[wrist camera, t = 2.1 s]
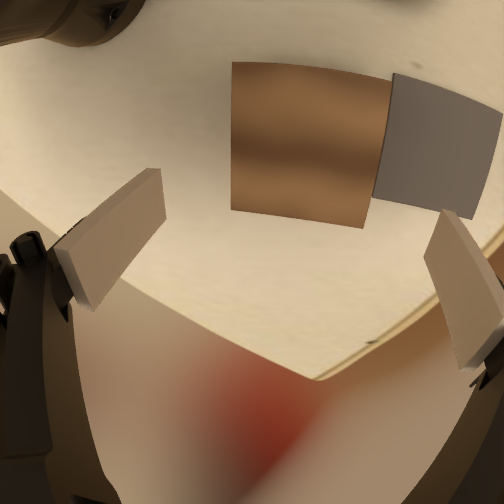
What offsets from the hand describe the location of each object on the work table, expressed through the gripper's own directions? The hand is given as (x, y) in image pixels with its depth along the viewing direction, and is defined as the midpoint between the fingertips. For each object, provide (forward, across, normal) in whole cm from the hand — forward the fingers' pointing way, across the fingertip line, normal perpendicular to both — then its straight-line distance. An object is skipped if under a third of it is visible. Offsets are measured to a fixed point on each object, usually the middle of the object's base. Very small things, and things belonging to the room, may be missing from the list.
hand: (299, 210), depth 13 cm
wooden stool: (+19, 0, 0) cm, 19 cm away
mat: (+19, +15, 0) cm, 24 cm away
